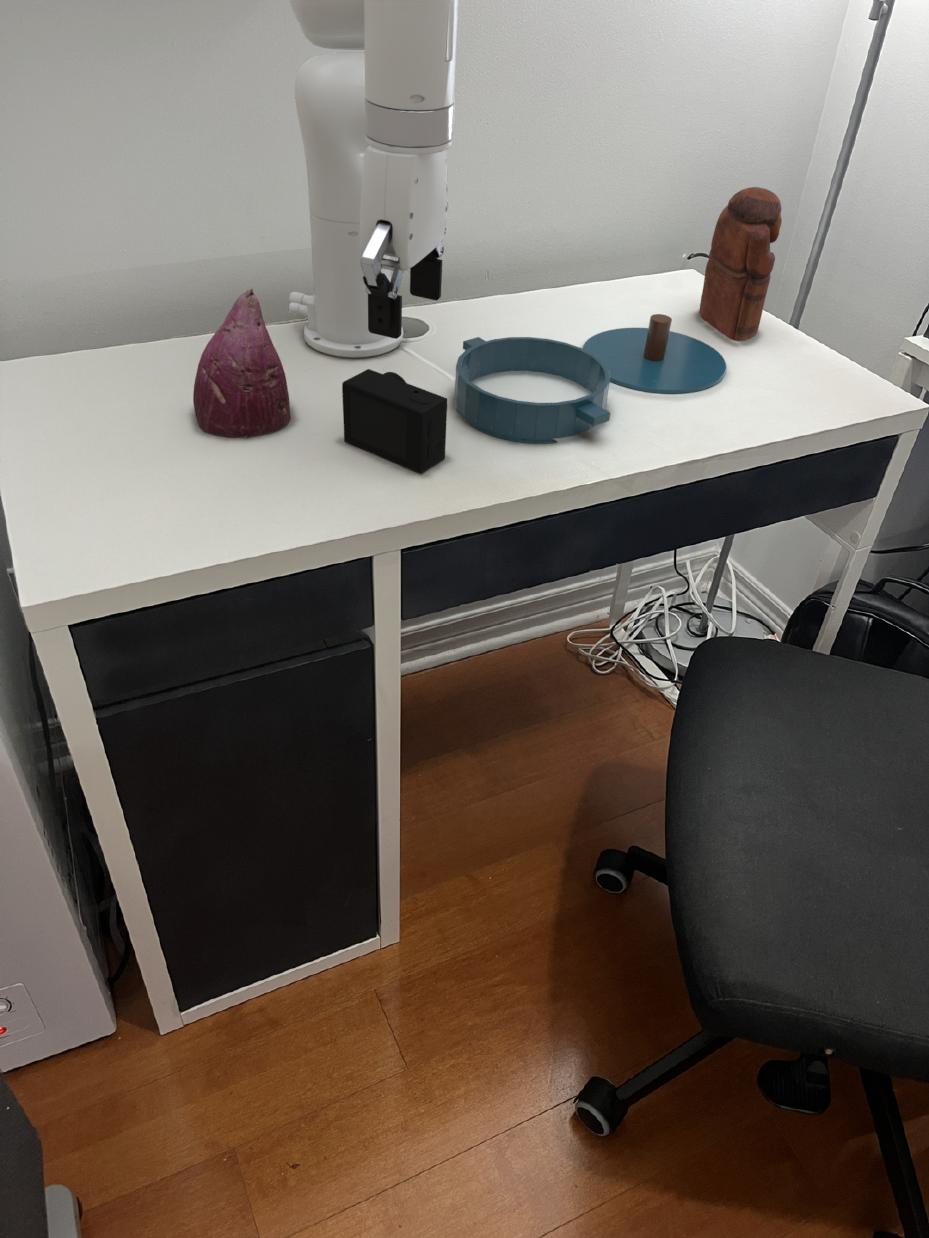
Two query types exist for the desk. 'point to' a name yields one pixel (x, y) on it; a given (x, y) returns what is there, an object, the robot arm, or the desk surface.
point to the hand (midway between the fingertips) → (405, 315)
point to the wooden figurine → (741, 263)
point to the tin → (530, 417)
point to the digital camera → (394, 419)
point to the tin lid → (657, 358)
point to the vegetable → (241, 377)
